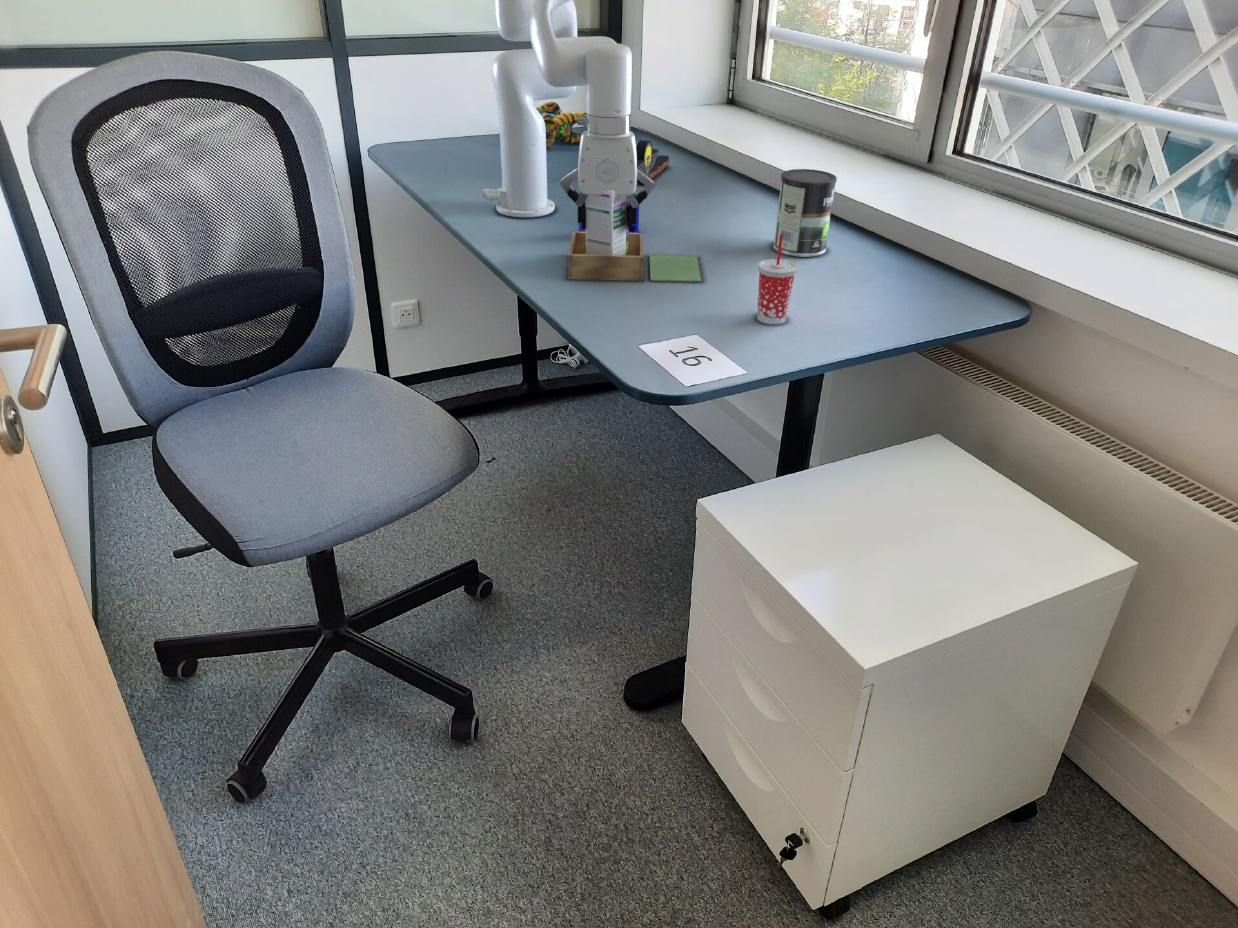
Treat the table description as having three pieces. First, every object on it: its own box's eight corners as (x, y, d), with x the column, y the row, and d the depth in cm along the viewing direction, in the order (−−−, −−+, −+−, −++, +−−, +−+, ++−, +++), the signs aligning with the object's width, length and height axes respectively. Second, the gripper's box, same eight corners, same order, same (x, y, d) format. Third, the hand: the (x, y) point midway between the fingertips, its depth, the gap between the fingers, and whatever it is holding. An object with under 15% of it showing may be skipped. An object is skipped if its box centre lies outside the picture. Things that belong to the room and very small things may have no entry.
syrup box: (611, 272, 158) (613, 191, 150) (584, 266, 161) (584, 186, 153) (628, 263, 162) (630, 184, 154) (601, 257, 165) (602, 178, 157)
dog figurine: (553, 148, 254) (504, 152, 243) (550, 102, 250) (499, 104, 239) (599, 146, 240) (549, 150, 229) (596, 97, 236) (545, 99, 225)
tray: (568, 279, 156) (568, 255, 154) (572, 254, 167) (572, 231, 165) (642, 281, 156) (643, 257, 154) (642, 255, 167) (642, 233, 165)
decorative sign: (635, 194, 202) (637, 149, 196) (626, 193, 202) (628, 148, 197) (668, 166, 223) (670, 125, 218) (660, 165, 224) (662, 124, 219)
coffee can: (829, 244, 175) (840, 172, 167) (821, 260, 167) (832, 185, 159) (778, 237, 178) (787, 166, 170) (767, 253, 170) (776, 179, 162)
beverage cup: (776, 329, 139) (787, 243, 132) (744, 319, 143) (753, 234, 135) (797, 318, 143) (809, 234, 136) (765, 308, 147) (775, 225, 139)
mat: (650, 281, 156) (650, 279, 156) (649, 256, 167) (649, 254, 167) (700, 282, 156) (701, 280, 156) (696, 257, 167) (696, 255, 167)
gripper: (555, 128, 145) (557, 233, 155) (660, 131, 145) (655, 235, 154) (558, 119, 151) (560, 220, 161) (659, 121, 151) (655, 222, 161)
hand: (607, 227), depth 158 cm, fingers closed on syrup box, 7 cm apart
